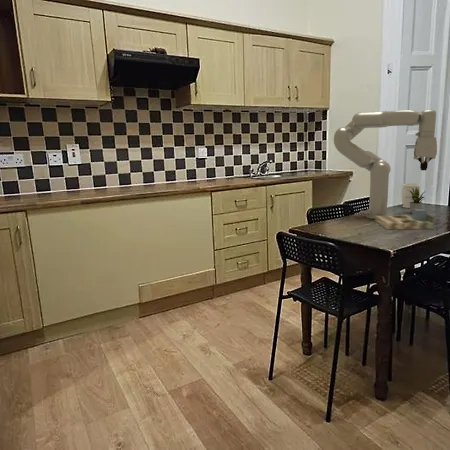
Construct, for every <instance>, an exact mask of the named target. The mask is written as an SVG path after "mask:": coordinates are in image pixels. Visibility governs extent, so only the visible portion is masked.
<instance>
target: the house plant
mask: <svg viewBox="0 0 450 450" xmlns="http://www.w3.org/2000/svg"><path fill="white" fill-rule="evenodd" d="M411 188H412V187H411ZM404 189H405V188H404ZM412 189H413V188H412ZM418 189H420V187H419V188H418ZM418 189H417V187H416V188H415V192H414V189H413V192H412V191H410V190H409V191H410V192H411V194H412V198H411V197H410V198H411V200H412V199H413V201H414V202H410V208H409V210H410V213H411V214H413V209H423V202H422V201H423V200H424V199H425V196H424V194H425V193H426V191H423V192H422V193H421V194H420V195H419V190H418ZM404 196H405V195H404ZM407 197H408V196H407ZM407 197H406V198H407Z"/></svg>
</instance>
